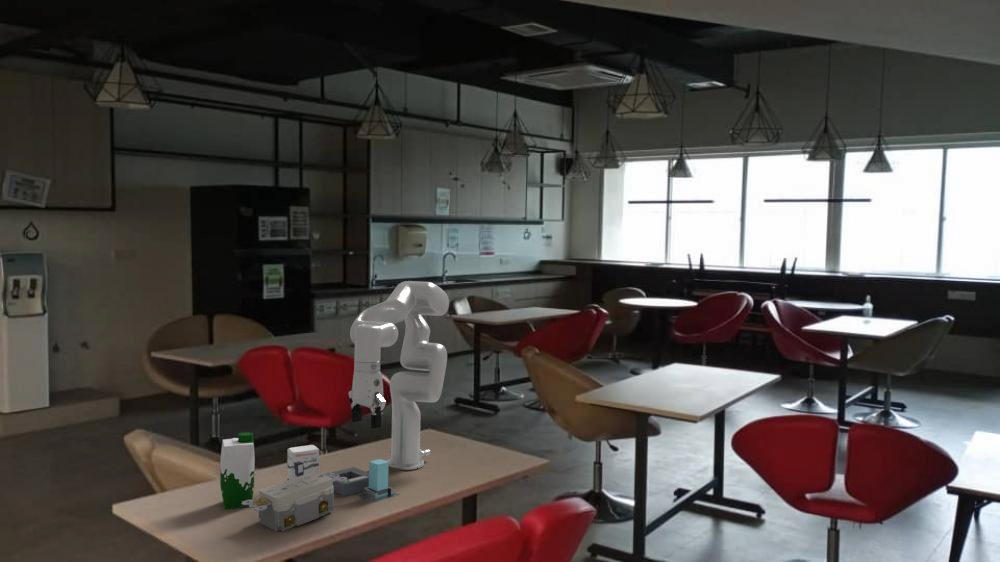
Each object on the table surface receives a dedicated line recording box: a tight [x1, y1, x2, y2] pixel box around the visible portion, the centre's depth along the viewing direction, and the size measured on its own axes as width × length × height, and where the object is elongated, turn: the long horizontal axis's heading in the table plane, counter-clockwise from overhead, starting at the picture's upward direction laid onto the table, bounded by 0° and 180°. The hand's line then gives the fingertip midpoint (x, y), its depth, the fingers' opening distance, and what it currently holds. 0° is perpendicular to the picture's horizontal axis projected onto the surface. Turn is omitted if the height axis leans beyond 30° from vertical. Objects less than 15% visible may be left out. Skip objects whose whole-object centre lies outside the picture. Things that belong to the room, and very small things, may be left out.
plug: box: [368, 458, 389, 498], centre depth 224 cm, size 4×4×10 cm
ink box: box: [286, 444, 320, 481], centre depth 232 cm, size 8×5×12 cm, turn 123°
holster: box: [356, 485, 401, 503], centre depth 224 cm, size 10×8×3 cm
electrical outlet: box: [242, 471, 347, 532], centre depth 205 cm, size 12×28×10 cm, turn 139°
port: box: [327, 466, 369, 497], centre depth 231 cm, size 12×12×4 cm
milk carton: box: [219, 431, 255, 510], centre depth 215 cm, size 9×9×20 cm
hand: (366, 424), depth 223 cm, fingers open, 9 cm apart
